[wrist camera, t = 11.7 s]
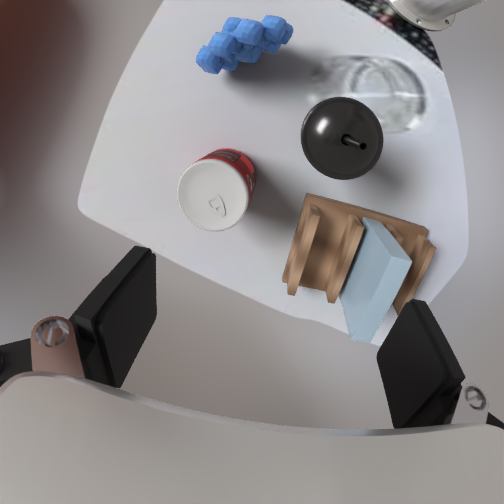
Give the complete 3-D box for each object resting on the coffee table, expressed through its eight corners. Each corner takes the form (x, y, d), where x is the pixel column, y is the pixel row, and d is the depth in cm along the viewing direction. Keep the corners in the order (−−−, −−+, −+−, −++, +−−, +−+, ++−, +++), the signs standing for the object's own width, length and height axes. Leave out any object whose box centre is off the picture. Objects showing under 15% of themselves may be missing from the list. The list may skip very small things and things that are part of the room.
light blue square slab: (363, 216, 39) (391, 256, 28) (380, 221, 39) (412, 261, 28) (336, 287, 44) (350, 339, 33) (352, 290, 44) (370, 342, 33)
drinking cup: (347, 102, 33) (409, 94, 15) (351, 156, 37) (412, 197, 19) (290, 104, 34) (302, 92, 16) (296, 160, 38) (312, 203, 20)
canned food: (229, 212, 42) (213, 245, 32) (190, 174, 40) (161, 195, 30) (268, 177, 39) (264, 200, 29) (227, 136, 37) (209, 144, 27)
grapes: (277, 16, 28) (276, -20, 18) (297, 56, 31) (305, 32, 20) (197, 47, 31) (165, 24, 21) (215, 87, 34) (189, 76, 23)
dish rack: (306, 192, 40) (310, 205, 34) (424, 226, 40) (441, 242, 34) (282, 277, 46) (282, 299, 41) (391, 299, 46) (402, 320, 41)
